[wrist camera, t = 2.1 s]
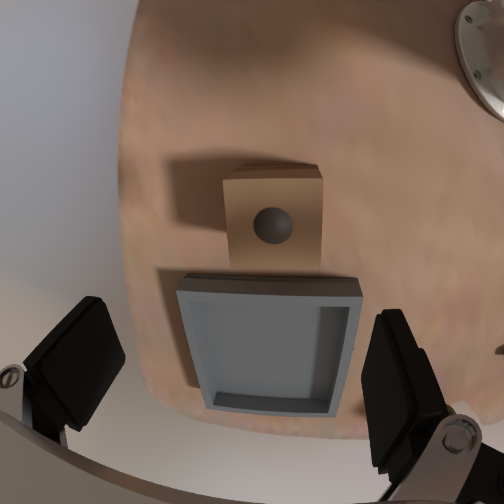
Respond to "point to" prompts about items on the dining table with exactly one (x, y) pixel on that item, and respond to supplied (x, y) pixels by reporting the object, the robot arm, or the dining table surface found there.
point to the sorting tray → (271, 341)
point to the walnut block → (274, 216)
